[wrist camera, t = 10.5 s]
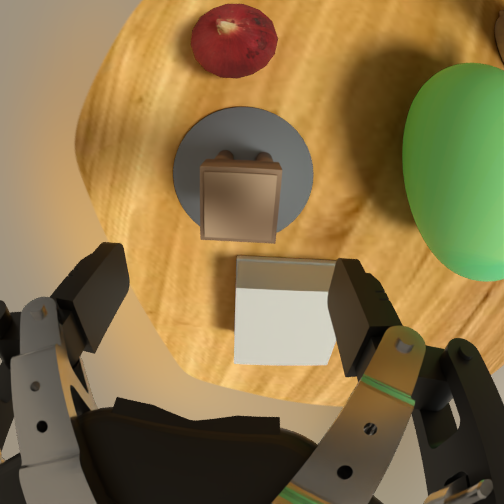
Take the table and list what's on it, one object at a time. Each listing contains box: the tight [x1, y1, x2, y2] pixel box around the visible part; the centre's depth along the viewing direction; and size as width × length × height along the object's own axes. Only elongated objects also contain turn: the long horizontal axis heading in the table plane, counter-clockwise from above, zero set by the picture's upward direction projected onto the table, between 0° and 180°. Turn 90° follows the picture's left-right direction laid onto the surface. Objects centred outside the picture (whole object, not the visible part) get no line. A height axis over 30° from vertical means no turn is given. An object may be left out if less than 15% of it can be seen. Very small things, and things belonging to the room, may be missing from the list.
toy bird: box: [402, 63, 504, 281], centre depth 15 cm, size 18×17×15 cm
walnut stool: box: [200, 150, 282, 244], centre depth 20 cm, size 5×5×7 cm
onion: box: [191, 4, 278, 78], centre depth 15 cm, size 6×6×8 cm
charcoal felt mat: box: [173, 107, 313, 233], centre depth 23 cm, size 12×12×1 cm
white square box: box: [234, 255, 336, 365], centre depth 28 cm, size 10×10×5 cm
